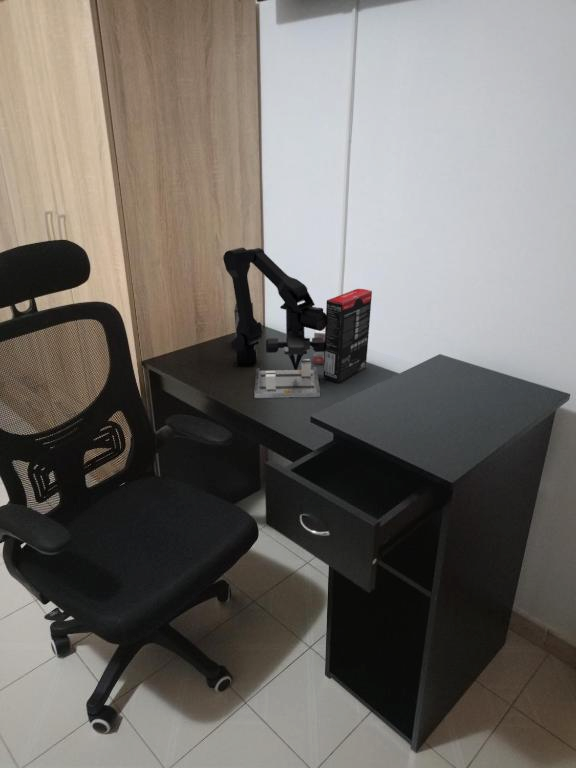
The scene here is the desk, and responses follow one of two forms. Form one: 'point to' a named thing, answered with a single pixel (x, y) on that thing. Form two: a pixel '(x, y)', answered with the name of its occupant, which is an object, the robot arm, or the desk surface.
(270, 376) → the fader
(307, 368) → the fader
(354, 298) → the graphics card box
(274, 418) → the desk surface
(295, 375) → the console
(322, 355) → the ink cartridge box
